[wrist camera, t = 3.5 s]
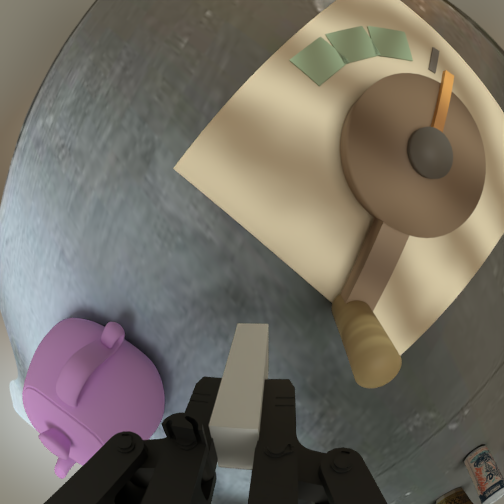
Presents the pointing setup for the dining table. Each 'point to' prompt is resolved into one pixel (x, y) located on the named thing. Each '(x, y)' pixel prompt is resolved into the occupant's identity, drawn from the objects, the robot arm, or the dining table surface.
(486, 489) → the beer can
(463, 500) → the ceramic cup
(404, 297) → the board
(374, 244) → the dial
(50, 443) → the teapot
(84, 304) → the dining table surface
